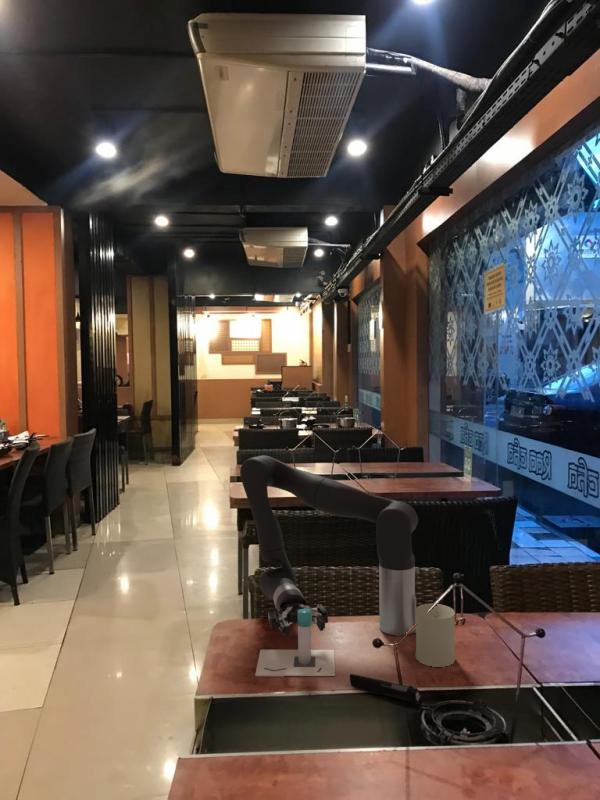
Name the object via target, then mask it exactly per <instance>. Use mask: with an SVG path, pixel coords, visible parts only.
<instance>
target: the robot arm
mask: <svg viewBox="0 0 600 800" xmlns="http://www.w3.org/2000/svg"><path fill="white" fill-rule="evenodd" d="M239 476H240V480H241V483H242V487H243V490H244V493H245V495H246V498H247V501H248V505H249V509H250V510H251V514H252V517H253V520H254V525H255V528H256V534H257V539H258V546H259V551H260V556H261V559H262V561H263V562H268V563H277V564H280V567H275V568H271V569H267V570H264V571H263V572H262V573H260V575H259V579H258V584H259V588H260V591H261V592H262V593H263V595H264V596H265V597H267V598H268V599H270V600H271V601H274V602H273V603H274V606H275V609H276V610H277V611H275V610H274V609H272V608H269V609H268V611H267V613H268V623H269V626H270V627H269V628H270V630H275V629H276V628H278V629H279V630H280V632H281V634H284V635H285V636H289V626H291V624H296V623H297V624H298V610H300V609H309V610H311V625H313V624H314V625H316V626H317V628H318V630H319V631H320V632H323V631H324V629H325V628H326V624H328V623H329V611H327V609H326V608H325V607H324V606H323V604H321V603H320V604H319V603H318V604H317V605H316V607H312V606H310V605H308V601H307V600H306V598H305V597H304V595H303V594H302V592H301V590H300V589H299V588H298V587H297V580H298V579H297V575H296V573H295V571H294V569H293V567H292V566H291V563H290V561H289V559H288V556H287V552H286V549H285V544H284V543H285V542H284V538H283V532H282V529H281V525H280V523H279V521H278V519H277V517H276V515H275V513H274V511H273V509H272V506H271V504H270V501H269V493H268V487H271V488H275V489H279V490H282V491H285V492H288V493H290V494H292V495H293V496H295V497H296V498H298V499H299V500H300V502H302V503H304V504H305V505H306V506H308V507H310V508H311V509H315V510H318V511H320V512H321V513H325V514H328V515H332V516H335V517H336V516H337V517H344V518H352V519H353V518H354V519H362V520H365V521H368V522H371V523H374V524H376V527H375V530H376V531H375V533H376V534H375V535H376V554H377V555H378V556H377V557H378V559H379V560H378V561H379V562H378V563H379V564H378V565H379V567H378V568H379V570H378V572H379V573H378V574H379V575H378V576H379V577H378V578H379V579H378V581H379V582H378V583H379V586H378V587H379V588H378V589H379V593H378V595H379V598H378V599H379V603H378V604H379V609H378V611H379V620H378V621H379V630H381V632H382V633H385V634H387V635H391V636H397V637H398V636H399V637H402V636H405V635H404V634H406V632H408V631H409V629H410V628H412V626H414V625H415V624H416V608H417V596H416V594H415V593H416V592H415V589H416V588H415V587H416V583H415V581H416V579H415V578H416V577H415V575H416V574H415V573H416V571H415V570H416V569H415V567H416V566H415V563H416V562H415V561H416V560H415V559H416V557H415V555H414V553H413V547H412V546H413V545H412V533H413V532H414V531H415V530H416V528H417V526H418V523H419V517H418V514H417V512H416V510H415V509H414V508H413V507H412V506H411V505H410V504H408V503H406V502H403V501H399V500H396V499H390V498H386V497H382V496H377V495H374V494H370V493H368V492H366V491H363V490H361V489H359V488H356V487H353V486H350V485H348V484H345V483H342V482H340V481H338V480H334V479H331V478H328V477H326V476H323V475H318V474H316V473H313V472H311V471H310V472H309V471H306V470H302V469H298V468H296V467H294V466H291V465H289V464H287V463H284V462H283V461H280V460H279V459H276V458H274V457H272V456H269V455H263V454H262V455H258V456H253V457H250V458H248V459H246V460H244V462H243V463H242V464H241V466H240V470H239ZM411 634H416V628H415V629H414V630H413V631H412V632H411V633H410V634H409V635H411Z"/></svg>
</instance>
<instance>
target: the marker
mask: <svg viewBox="0 0 600 800" xmlns="http://www.w3.org/2000/svg"><path fill="white" fill-rule="evenodd" d="M297 629H298V630H297V634H298V635H297V646H298V648H297V650H298V662H299V663H300V664H303V665H306V664H310V663H311V650H312V624H311V610H309V609H300V610H298V622H297Z"/></svg>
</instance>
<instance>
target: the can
mask: <svg viewBox="0 0 600 800" xmlns="http://www.w3.org/2000/svg"><path fill="white" fill-rule="evenodd" d="M434 604H435V603H424V604H420V605H419V606H416V624H417V625H416V633H415V655H414V656H415V659H416V660H418V661H419V662H418V661H417V662H418V663H420V664H421V663H422V665H423V664H425V665H424V666H426V665H428V666H427V667H429V666H432V667H431V668H435V667H443V668H446V667H445V666H448V667H450V666H452V665H453V664H454V663H455V662H454V661H456V657H455V618H456V617H455V615H456V612H455V610H454V609H453V608H452V607H450V606H448V605H444V604H441V603H436V604H437V606H435V607H434V608H433V609H432V610H431V611H430V612H428V610H429V609H430V608H431V607H432V606H433V605H434ZM427 612H428V613H427ZM451 664H452V665H451ZM449 665H450V666H449Z"/></svg>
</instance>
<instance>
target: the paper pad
mask: <svg viewBox="0 0 600 800" xmlns="http://www.w3.org/2000/svg"><path fill="white" fill-rule="evenodd" d="M259 650H260V651H259V655H258V656H259V657H258V660H257V665H256V669H255V670H256V671H255V675H254V676H255V677H284V676H335V677H336V671H335V670H336V667H335V650H334V649H311V663H310V664H306V665H303V664H300V663H299V662H298V649H259Z"/></svg>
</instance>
